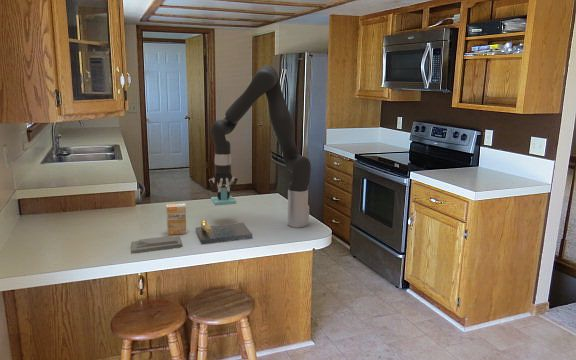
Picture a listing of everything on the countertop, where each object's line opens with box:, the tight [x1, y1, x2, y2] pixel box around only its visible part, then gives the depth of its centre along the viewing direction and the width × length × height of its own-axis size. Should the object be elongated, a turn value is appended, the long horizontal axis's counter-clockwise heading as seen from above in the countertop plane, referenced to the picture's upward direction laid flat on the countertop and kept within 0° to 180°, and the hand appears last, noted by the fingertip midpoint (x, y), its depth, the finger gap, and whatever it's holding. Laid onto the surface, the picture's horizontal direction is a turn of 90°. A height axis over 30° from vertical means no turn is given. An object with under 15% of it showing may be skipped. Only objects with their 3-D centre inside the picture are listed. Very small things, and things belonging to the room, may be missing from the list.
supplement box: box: [166, 202, 187, 236], centre depth 207 cm, size 8×5×13 cm, turn 105°
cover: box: [210, 187, 237, 206], centre depth 220 cm, size 10×10×6 cm
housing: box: [195, 222, 253, 245], centre depth 206 cm, size 22×16×2 cm
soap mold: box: [130, 235, 184, 254], centre depth 193 cm, size 10×20×4 cm, turn 110°
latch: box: [200, 219, 212, 233], centre depth 202 cm, size 10×2×4 cm, turn 25°
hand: (223, 198), depth 220 cm, fingers closed on cover, 3 cm apart
